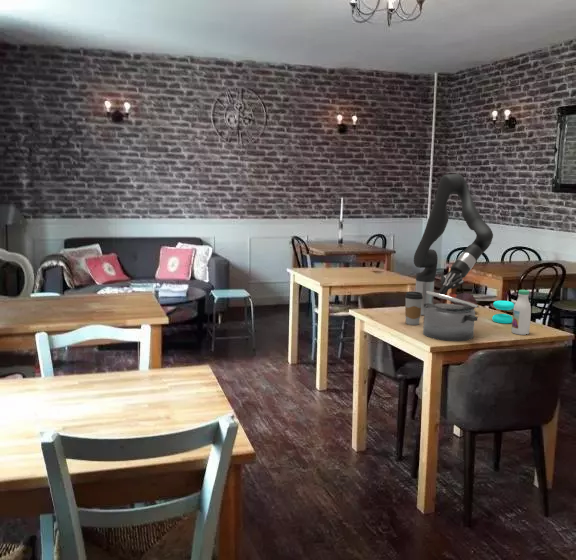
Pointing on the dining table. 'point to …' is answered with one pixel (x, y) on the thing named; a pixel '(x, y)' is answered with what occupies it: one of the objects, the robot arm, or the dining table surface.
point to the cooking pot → (449, 322)
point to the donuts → (503, 317)
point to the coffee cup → (413, 307)
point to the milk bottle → (521, 314)
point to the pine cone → (466, 299)
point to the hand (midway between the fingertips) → (441, 293)
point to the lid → (452, 298)
